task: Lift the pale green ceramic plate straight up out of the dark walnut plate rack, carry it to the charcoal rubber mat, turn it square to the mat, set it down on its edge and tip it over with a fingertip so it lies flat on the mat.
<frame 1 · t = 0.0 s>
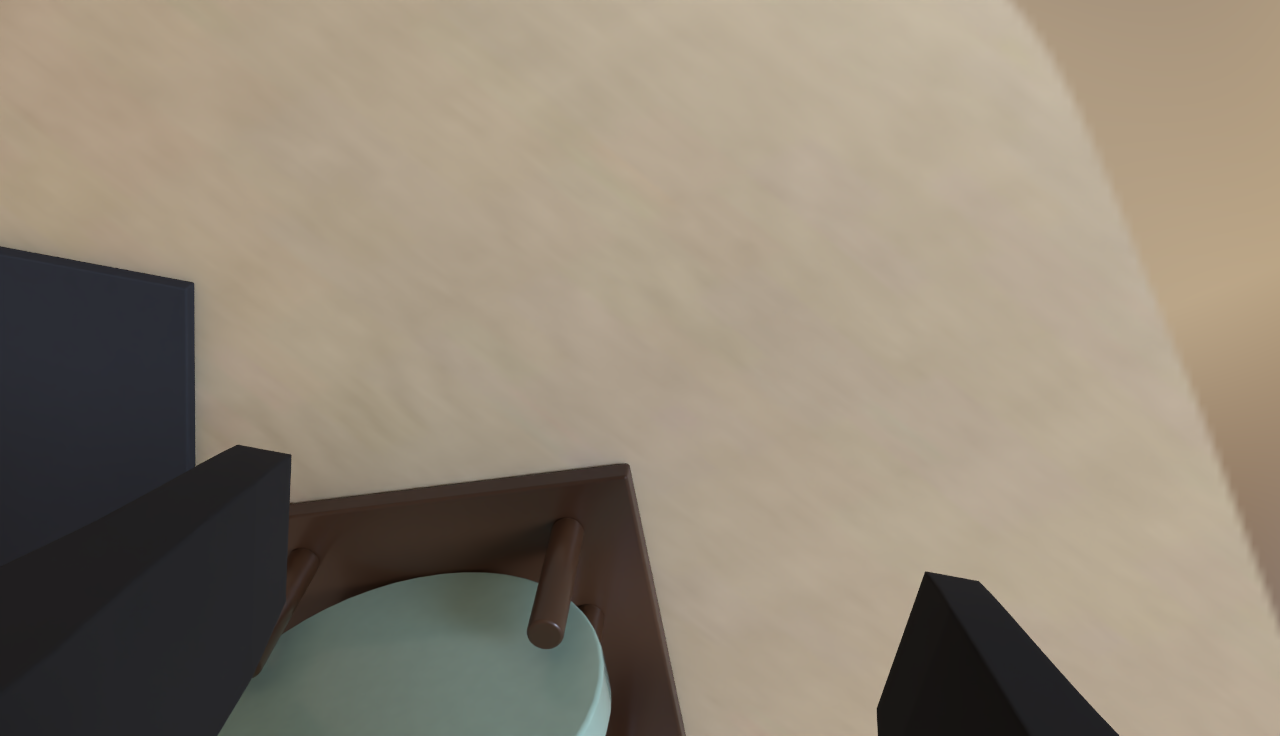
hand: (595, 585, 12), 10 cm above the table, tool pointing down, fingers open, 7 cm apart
pale green plate: (400, 717, 21), point 5 cm above the table, touching plate rack
plate rack: (486, 681, 26), on the table
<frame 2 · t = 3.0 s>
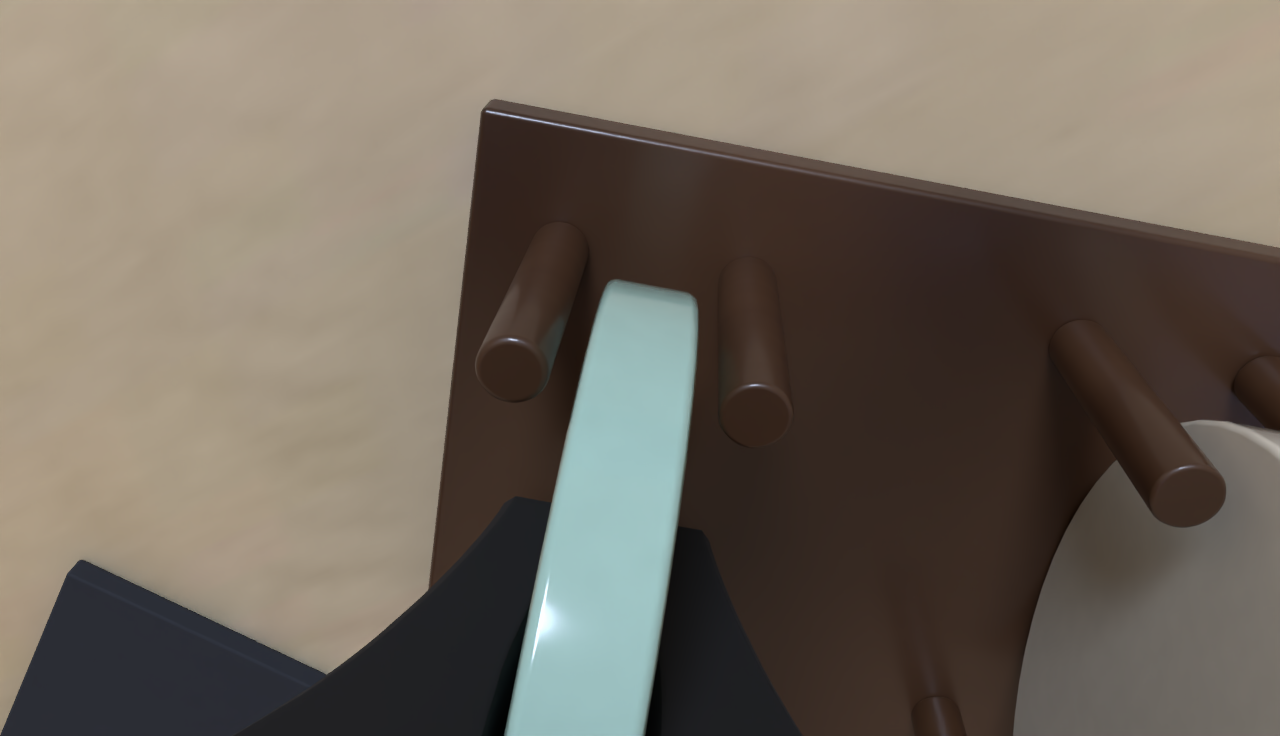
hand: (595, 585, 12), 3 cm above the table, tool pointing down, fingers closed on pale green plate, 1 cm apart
pale green plate: (578, 679, 11), point 5 cm above the table, touching gripper, plate rack
plate rack: (845, 493, 15), on the table
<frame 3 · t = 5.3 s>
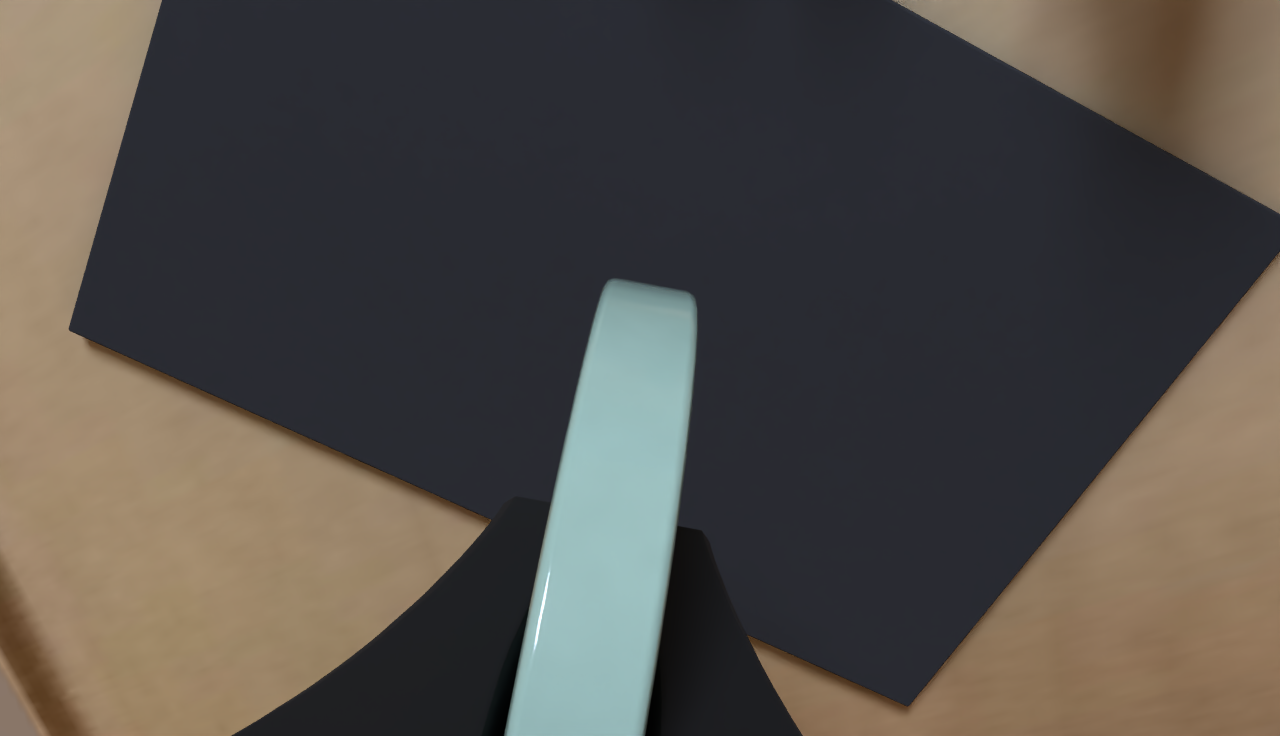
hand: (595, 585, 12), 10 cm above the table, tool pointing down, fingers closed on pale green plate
charcoal mat: (647, 274, 21), on the table
pale green plate: (578, 679, 11), point 12 cm above the table, touching gripper
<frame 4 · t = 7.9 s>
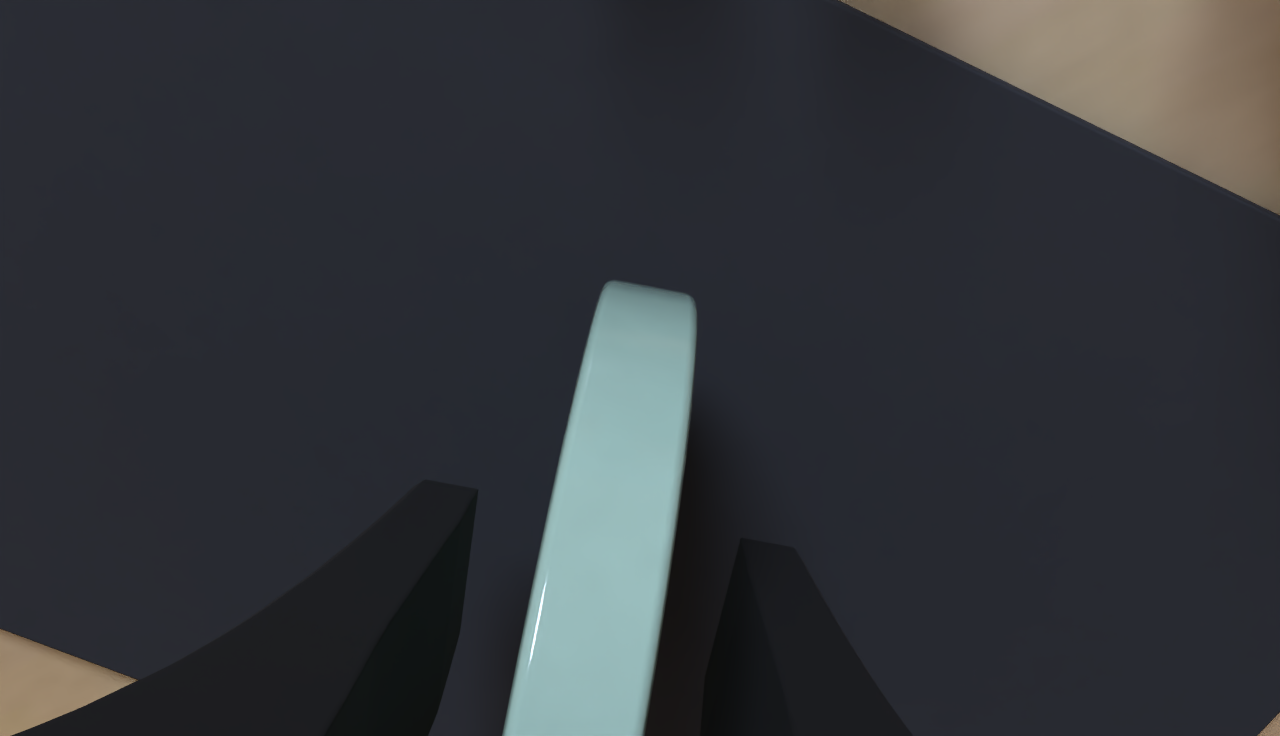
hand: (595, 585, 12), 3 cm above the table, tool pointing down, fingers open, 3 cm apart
charcoal mat: (616, 461, 15), on the table
pale green plate: (576, 683, 11), point 4 cm above the table, touching charcoal mat
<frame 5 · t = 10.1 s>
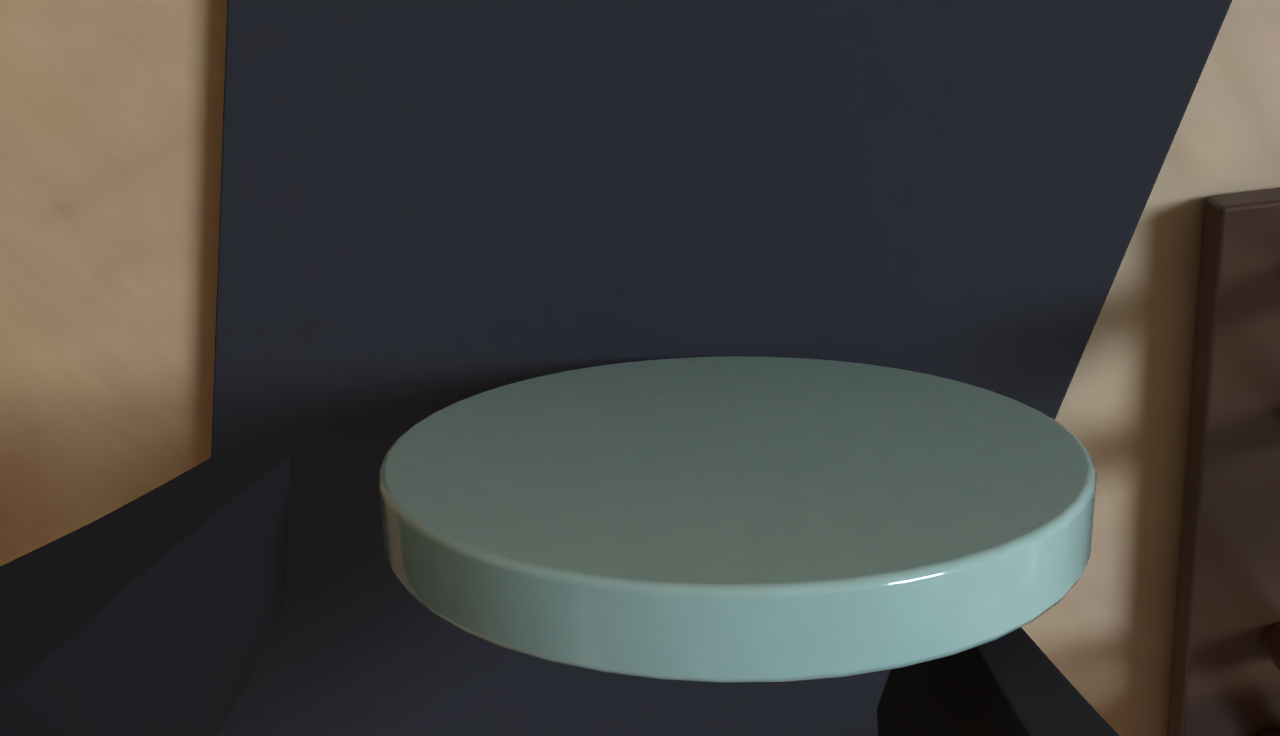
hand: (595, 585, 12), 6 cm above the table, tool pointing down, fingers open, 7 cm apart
charcoal mat: (631, 373, 17), on the table
pale green plate: (727, 472, 13), point 4 cm above the table, tilted 24°, touching charcoal mat
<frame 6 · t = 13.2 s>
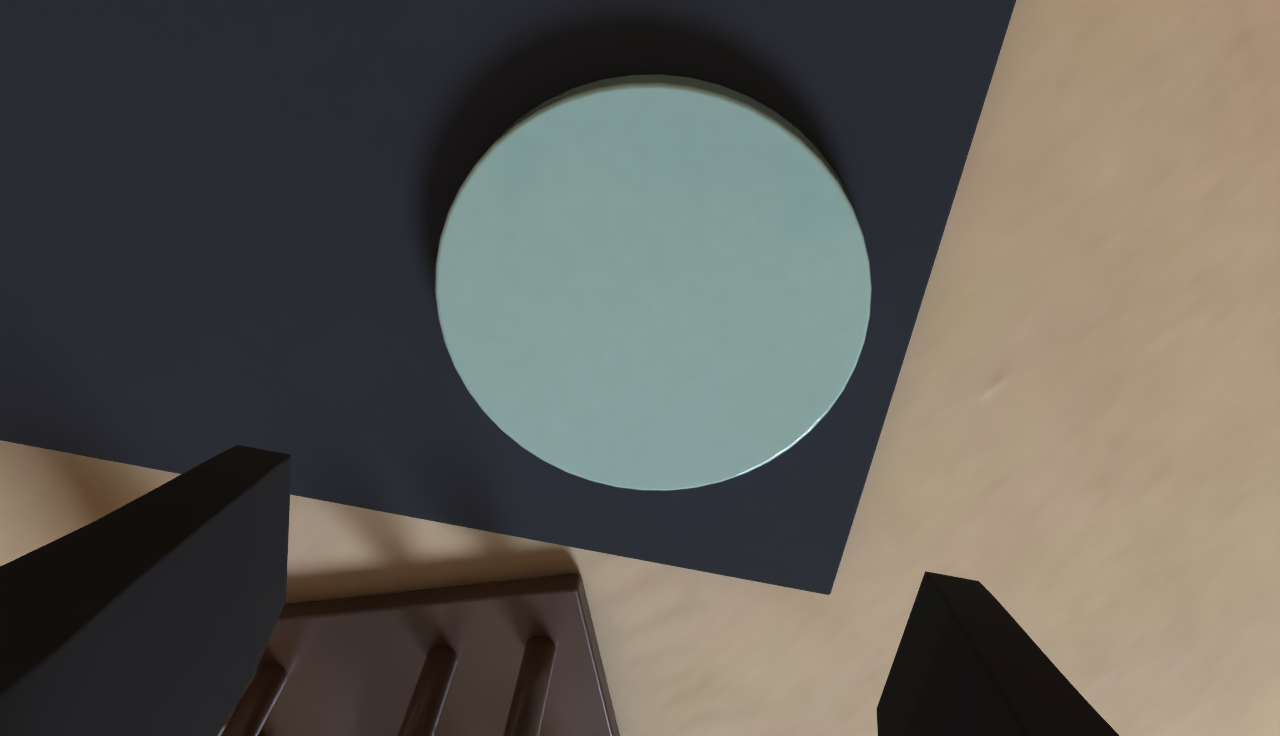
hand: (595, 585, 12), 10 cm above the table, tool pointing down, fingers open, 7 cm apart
charcoal mat: (401, 218, 21), on the table
pale green plate: (651, 296, 20), point 1 cm above the table, tilted 90°, touching charcoal mat
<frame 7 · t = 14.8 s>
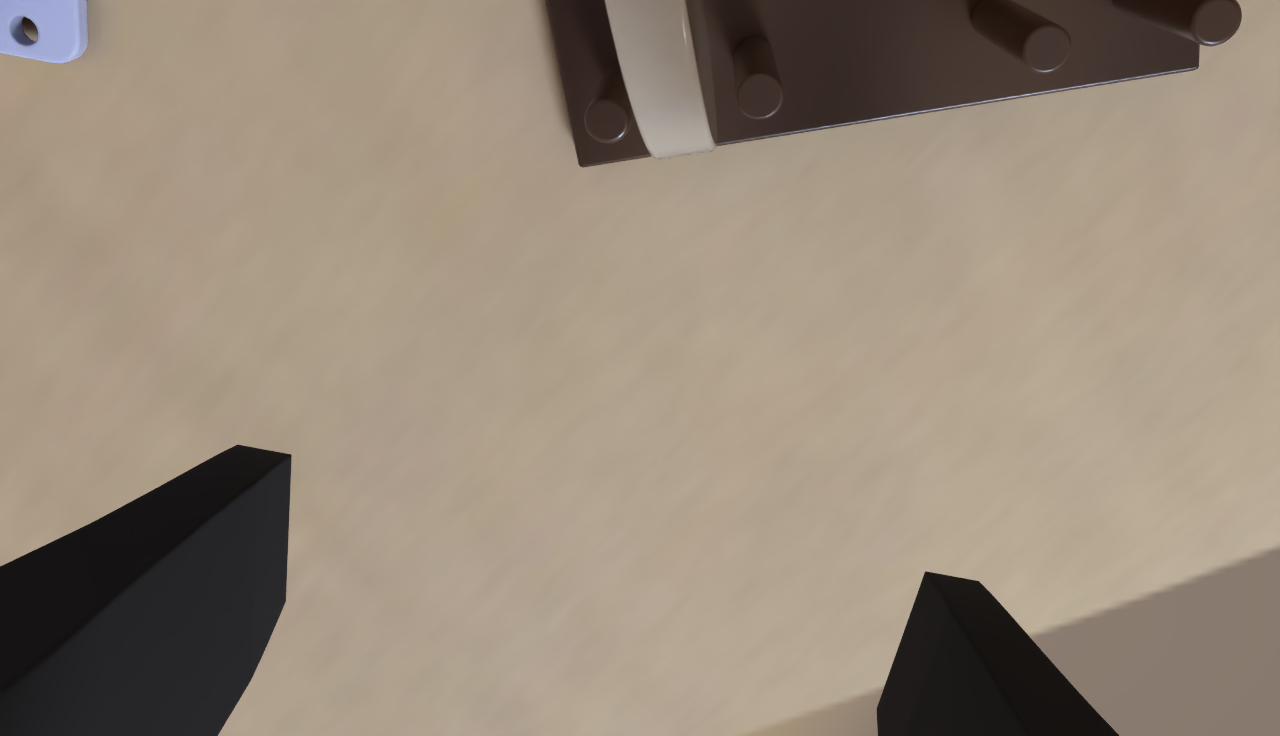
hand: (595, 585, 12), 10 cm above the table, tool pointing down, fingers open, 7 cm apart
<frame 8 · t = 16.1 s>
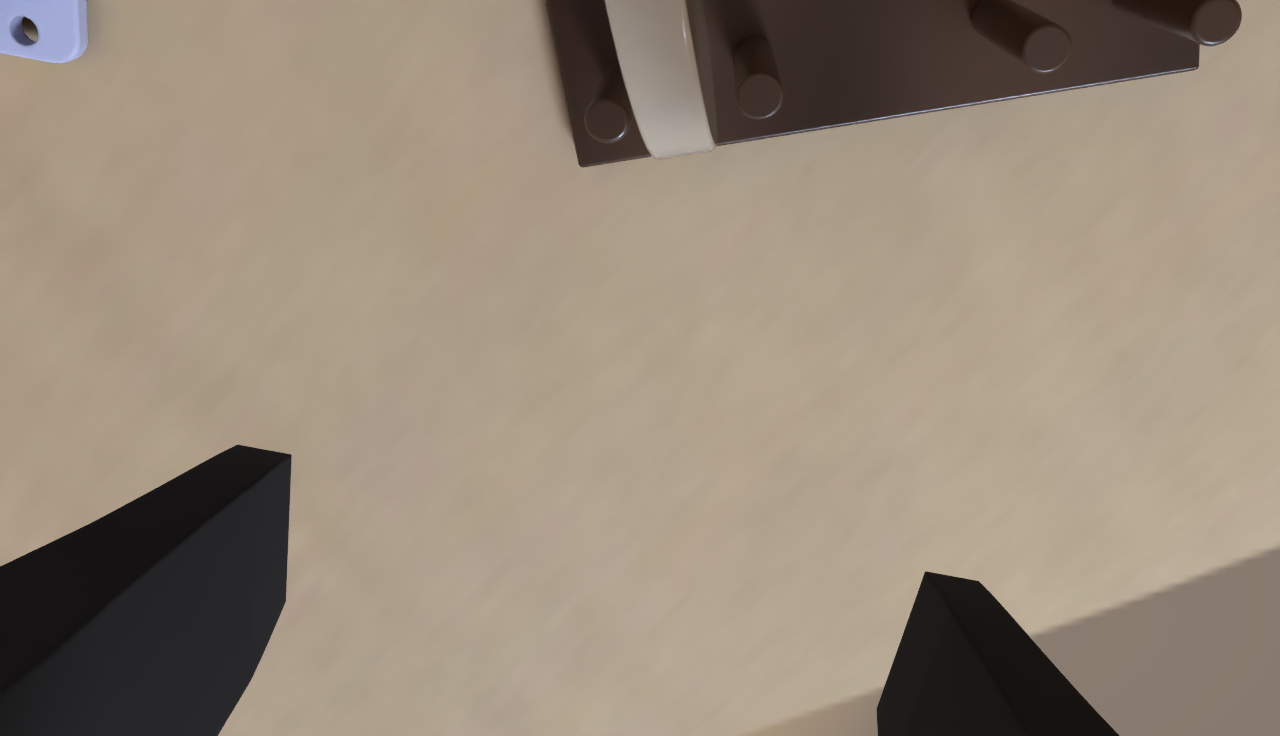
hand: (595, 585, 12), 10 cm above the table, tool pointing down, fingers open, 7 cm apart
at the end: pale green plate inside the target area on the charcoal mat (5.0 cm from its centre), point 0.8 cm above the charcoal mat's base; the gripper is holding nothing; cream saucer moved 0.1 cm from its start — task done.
